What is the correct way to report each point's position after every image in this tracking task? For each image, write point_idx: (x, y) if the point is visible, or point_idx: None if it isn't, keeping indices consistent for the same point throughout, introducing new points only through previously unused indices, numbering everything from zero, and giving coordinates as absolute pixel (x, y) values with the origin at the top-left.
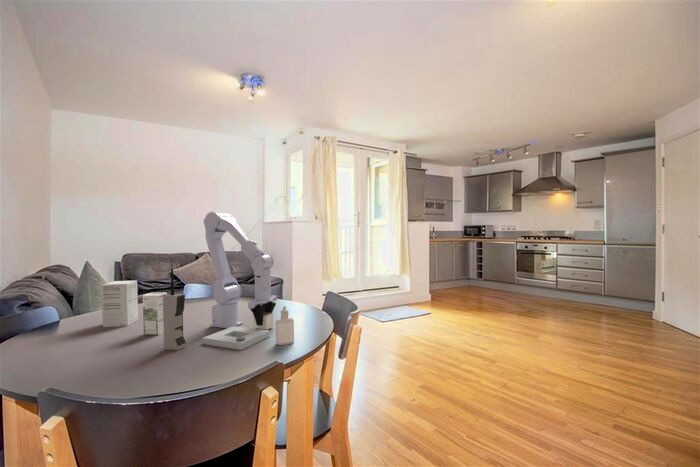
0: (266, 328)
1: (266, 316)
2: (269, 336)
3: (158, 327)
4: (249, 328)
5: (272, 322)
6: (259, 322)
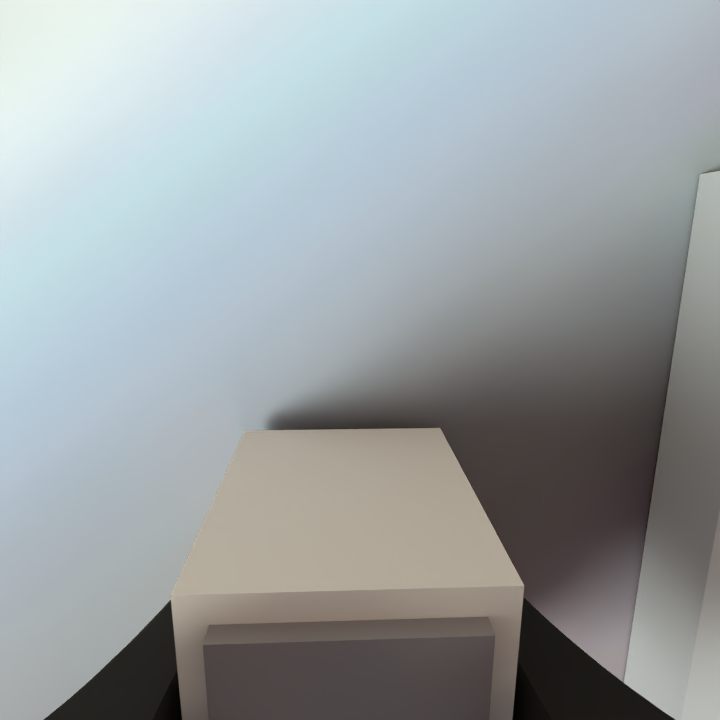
0: (444, 441)
1: (514, 579)
2: (710, 172)
3: None
4: (716, 613)
5: (261, 467)
6: None
